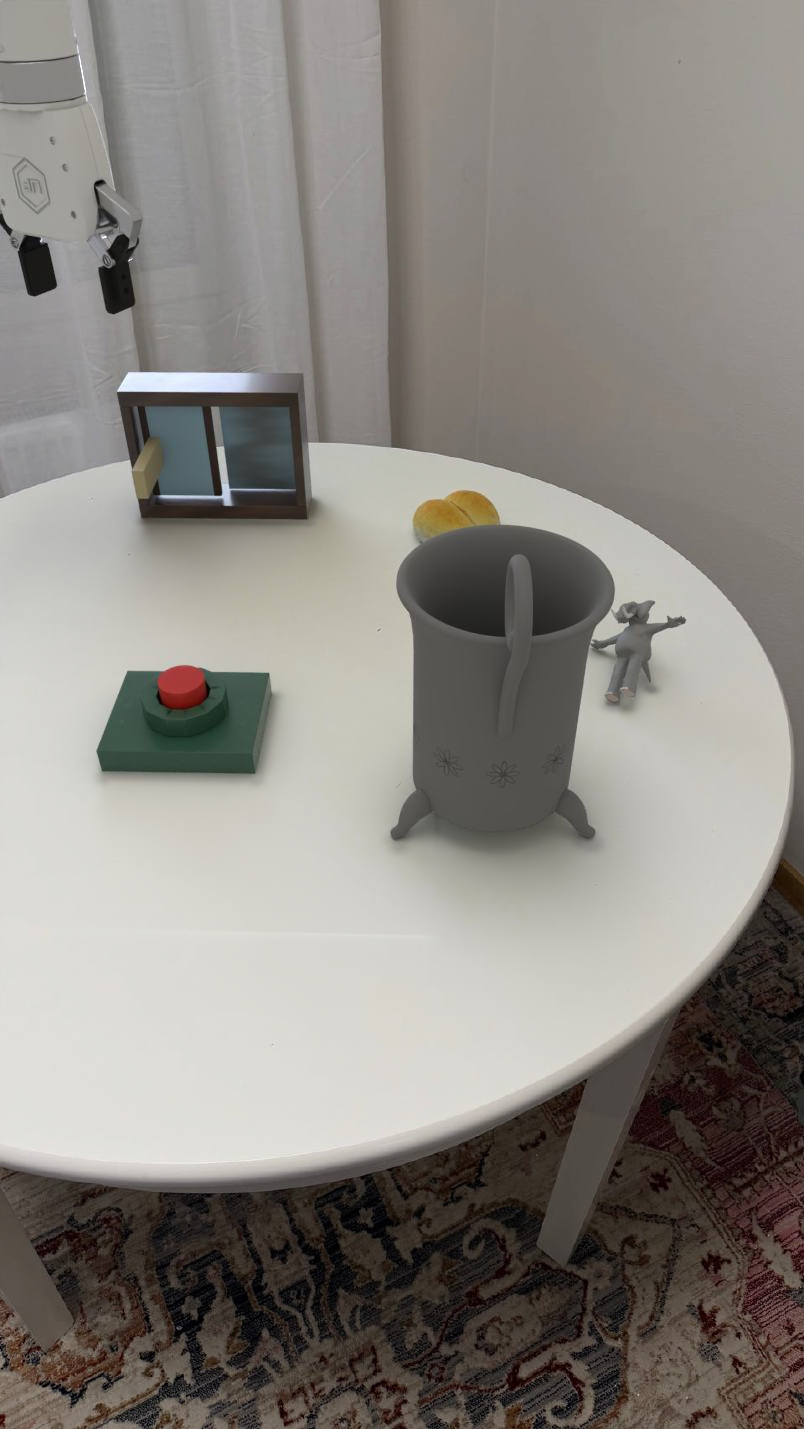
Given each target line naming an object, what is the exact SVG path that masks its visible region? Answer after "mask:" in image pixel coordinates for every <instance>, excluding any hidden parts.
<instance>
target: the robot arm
mask: <svg viewBox="0 0 804 1429" xmlns="http://www.w3.org/2000/svg"><path fill="white" fill-rule="evenodd" d="M79 51H80V50H79V46H78V40H77V35H76V29H75V24H74V18H73V13H72V8H71V2H70V0H0V226H1V227H2V229H3V230H4V232H6V234H7V235H8V236H9V243H10V245H11V247H12V248H13V249H14V250H15V251H17V252H16V253H17V256H18V260H19V265H20V268H21V273H22V277H23V281H24V285H25V289H26V292H27V295H28V296H30V297H38V296H40V295H43V294H45V293H48V292H50V291H53V290H56V289H57V287H58V282H57V276H56V273H55V268H54V264H53V259H52V255H51V251H50V250H51V249H50V247H49V243H48V242H44V241H42V240H43V239H46V240H51V241H57V242H61V243H67V244H75V245H79V244H83V243H87V244H88V245H89V246H90V248H91V250H92V251H93V252H94V254H95V255H96V256H97V258H98V260H100V262H101V264H102V265H101V266H99V267H97V272H98V276H99V282H100V287H101V294H102V296H103V303H104V308H105V311H106V313H108V314H110V315H116V314H119V313H121V312H123V311H126V310H128V309H130V308H133V307H134V306H135V305H136V297H135V291H134V285H133V280H132V279H133V278H132V273H131V268H130V262H129V261H131V260H133V259H134V253H135V251H136V249H137V247H138V246H139V244H140V238H139V236H140V233H141V229H142V224H143V214H142V213H141V211H140V210H139V209H137V208H136V207H135V206H134V205H132V203H130V202H129V201H128V200H126V199H125V198H124V197H123V196H121V195H120V194H119V193H117V192H116V186H115V181H114V177H113V172H112V168H111V164H110V160H109V157H108V152H107V149H106V145H105V141H104V138H103V134H102V132H101V128H100V124H99V122H98V118H97V115H96V113H95V111H94V108H93V107H94V106H93V104H92V102H89V101H88V97H87V90H86V84H85V79H84V74H83V73H84V72H83V68H82V62H81V58H80V57H81V56H80V53H79ZM105 238H106V239H107V240H108V242H109V243H110V244H111V245H110V246H108V244H106V242H105V240H104V239H105Z"/></svg>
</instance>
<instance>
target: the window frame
mask: <svg viewBox="0 0 804 1429" xmlns="http://www.w3.org/2000/svg"><path fill="white" fill-rule="evenodd" d="M116 395H117V400H118V402H117V403H118V406H119V410H120V415H121V420H122V426H123V431H124V436H125V441H126V447H127V451H128V456H129V462H130V467H131V470H132V469H133V467H134V465H135V463H136V461H137V459H138V457H139V455H140V453H141V451H142V450H143V448H144V440H143V435H142V430H141V424H140V419H139V413H138V408H137V406H186V407H211V408H212V407H213V408H215V407H216V408H218V412H219V419H220V420H219V421H220V428H221V436H222V443H223V451H224V458H225V465H226V466H225V467H226V473H227V474H226V475H227V481H228V483H221V485H222V492H223V493H222V496H185V495H153V490H152V492H151V494H150V496H149V499H137V501H138V508H139V513H140V517H141V518H154V519H155V518H157V519H158V518H160V519H161V518H164V519H165V518H167V519H168V518H169V519H171V518H172V519H266V520H267V519H274V520H275V519H277V520H280V519H281V520H286V519H287V520H308V519H309V514H310V508H311V504H312V499H313V491H312V490H313V489H312V476H311V464H310V462H311V461H310V450H309V449H310V448H309V435H308V434H309V433H308V422H307V420H308V419H307V408H306V392H305V379H304V373H302V372H162V371H161V372H159V371H158V372H157V371H156V372H150V371H149V372H145V371H144V372H143V371H142V372H141V371H140V372H138V371H136V372H135V371H134V372H133V371H131V372H129V371H128V373H127V374H126V376H125V377H124V379H123V381H122V382H121V384H120V385H119V387H118V389H117V390H116Z"/></svg>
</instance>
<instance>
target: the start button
mask: <svg viewBox="0 0 804 1429" xmlns="http://www.w3.org/2000/svg"><path fill="white" fill-rule="evenodd" d="M199 668H200V667H197V666H194V665H189V664H187V665H186V664H181V665H176V666H172V667H169V668H167V669H166V670H163V671H164V672H163V673H162V674H161V675H160V676H159V678H158V688H159V692H160V697H161V701H162V703H163V705H164V706H166V707H167V708H169V709H172V710H186V709H189V708H192V707H195V706H198V705H200V704H201V703H202V702H203V701H204V700H205V699H206V696H207V690H206V684H205V678H204V674H203V672H202V671H201V670H200V669H199Z"/></svg>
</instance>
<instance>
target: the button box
mask: <svg viewBox="0 0 804 1429" xmlns="http://www.w3.org/2000/svg"><path fill="white" fill-rule="evenodd" d="M198 668H199V669H200V670H201V671H202V672H203V674H204V678H205V684H206V690H207V696H206V699H205V700H204V701H203V702H202V703H201V704H200V705H198V706H195V707H192V708H189V709H186V710H172V709H169V708H167V707H166V706H164V705H163V703H162V701H161V697H160V692H159V688H158V678H159V676H160V675H161V674H162V673H163V672H164V671H165V670H127V671H126V673H125V676H124V678H123V681H122V683H121V686H120V688H119V691H118V694H117V697H116V698H115V702H114V704H113V706H112V709H111V712H110V714H109V717H108V720H107V722H106V725H105V727H104V730H103V732H102V735H101V738H100V741H99V742H98V745H97V748H96V752H95V753H96V755H97V759H98V762H99V765H100V769H101V772H119V773H120V772H122V773H124V772H127V773H128V772H129V773H182V774H183V773H185V774H186V773H187V774H189V773H190V774H191V773H192V774H238V775H239V774H241V775H242V774H245V775H247V774H248V775H249V774H250V775H254V774H256V773H257V772H256V771H257V768H258V762H259V757H260V753H261V748H262V742H263V738H264V733H265V729H266V728H265V727H266V724H267V719H268V713H269V708H270V703H271V698H272V693H273V691H272V682H271V674H270V672H257V671H256V672H251V671H250V672H248V671H247V672H246V671H245V672H244V671H211V670H209V669H206V668H203V667H198Z"/></svg>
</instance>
